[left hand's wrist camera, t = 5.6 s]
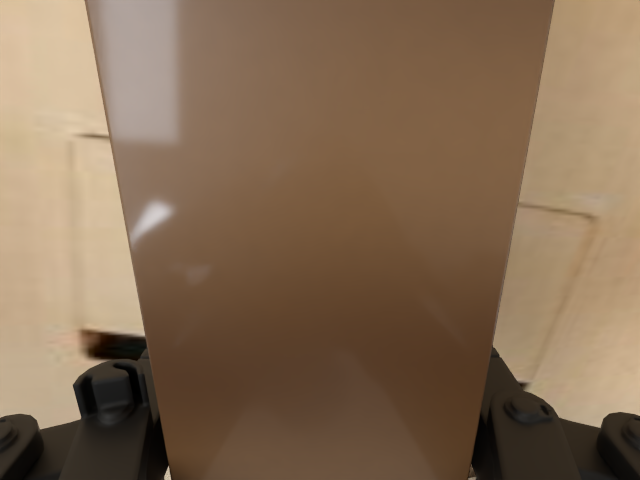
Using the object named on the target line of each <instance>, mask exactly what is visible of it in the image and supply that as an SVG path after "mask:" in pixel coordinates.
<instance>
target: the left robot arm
mask: <svg viewBox="0 0 640 480" xmlns="http://www.w3.org/2000/svg"><path fill="white" fill-rule="evenodd" d="M73 388H74V391H75V395H76V399H77V403H78V406H79V410H80V414H81V419H80V420H77V421H74V422H71V423H67V424H62V425H58V426H54V427H49V428H45V429H41V430H40V429H39V426H38V423H37V420H36V419H34V418H33V417H32V416H31V415H24V414H15V415H9V416H4V417H1V418H0V480H164V475H165V473H166V470H167V468H168V465H169V463H168V458H167V452H166V447H165V441H164V436H163V430H162V425H161V419H160V414H159V408H158V403H157V397H156V392H155V386H154V380H153V375H152V369H151V364H150V358H149V353H148V347H147V349H145V350H144V352H143V353H142V355H141V358H140V359H138V361H134V360H130V359H115V360H111V361H107V362H103V363H101V364H99V365H96V366H94V367H92V368H90V369H88V370H87V371H86V372H84V373H83V374H82V375H80V376H79V377H78V379H77V380H76V381H75V383H74V384H73ZM471 464H472V467H473V469H474V472H475V474H476V480H640V416H638V415H635V414H630V413H623V412H618V413H611V414H609V415H607V416H606V417H605V418H604V419H603V422H602V425H601V428H598V427H593V426H589V425H585V424H580V423H576V422H572V421H568V420H565V419H562V418H559V417H558V415H557V414H556V412H555V411H554V409H553V408H552V407H551V406H550V405H549V404H548V403H547V402H545V401H544V400H543V399H541V398H539V397H537V396H535V395H533V394H532V393H529V392H525V391H523V389H522V388H521V386H520V385H519V383H518V382H517V380H516V379H515V377H514V376H513V374H512V373H511V371H510V370H509V369H508V367H507V366H506V364H505V363H504V361H503V360H502V358H500V357H499V354H498V352H497V351H496V349H495V348H493V345H492V350H491V356H490V361H489V367H488V372H487V378H486V384H485V389H484V395H483V400H482V406H481V411H480V417H479V422H478V428H477V433H476V439H475V445H474V450H473V456H472V461H471Z"/></svg>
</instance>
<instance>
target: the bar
mask: <svg viewBox="0 0 640 480" xmlns="http://www.w3.org/2000/svg"><path fill="white" fill-rule="evenodd" d="M554 1H555V0H85V4H86V10H87V15H88V21H89V26H90V32H91V37H92V43H93V48H94V54H95V60H96V65H97V71H98V76H99V82H100V87H101V93H102V98H103V104H104V109H105V115H106V120H107V126H108V131H109V137H110V143H111V148H112V154H113V159H114V165H115V170H116V176H117V181H118V187H119V192H120V198H121V203H122V209H123V214H124V220H125V226H126V231H127V237H128V242H129V248H130V253H131V259H132V264H133V270H134V275H135V281H136V286H137V292H138V297H139V303H140V309H141V314H142V320H143V325H144V331H145V336H146V342H147V347H148V353H149V358H150V364H151V369H152V375H153V380H154V386H155V392H156V397H157V403H158V408H159V414H160V419H161V425H162V430H163V436H164V441H165V447H166V452H167V458H168V463H169V469H170V475H171V480H468V478H469V472H470V467H471V461H472V456H473V450H474V445H475V439H476V433H477V428H478V422H479V417H480V411H481V406H482V400H483V395H484V389H485V384H486V378H487V372H488V367H489V361H490V356H491V350H492V345H493V339H494V334H495V328H496V323H497V317H498V312H499V306H500V300H501V295H502V289H503V284H504V278H505V273H506V267H507V262H508V256H509V251H510V245H511V239H512V234H513V228H514V223H515V217H516V212H517V206H518V201H519V195H520V190H521V184H522V178H523V173H524V167H525V162H526V156H527V151H528V145H529V140H530V134H531V129H532V123H533V118H534V112H535V106H536V101H537V95H538V90H539V84H540V79H541V73H542V68H543V62H544V57H545V51H546V45H547V40H548V34H549V29H550V23H551V18H552V12H553V7H554Z"/></svg>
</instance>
